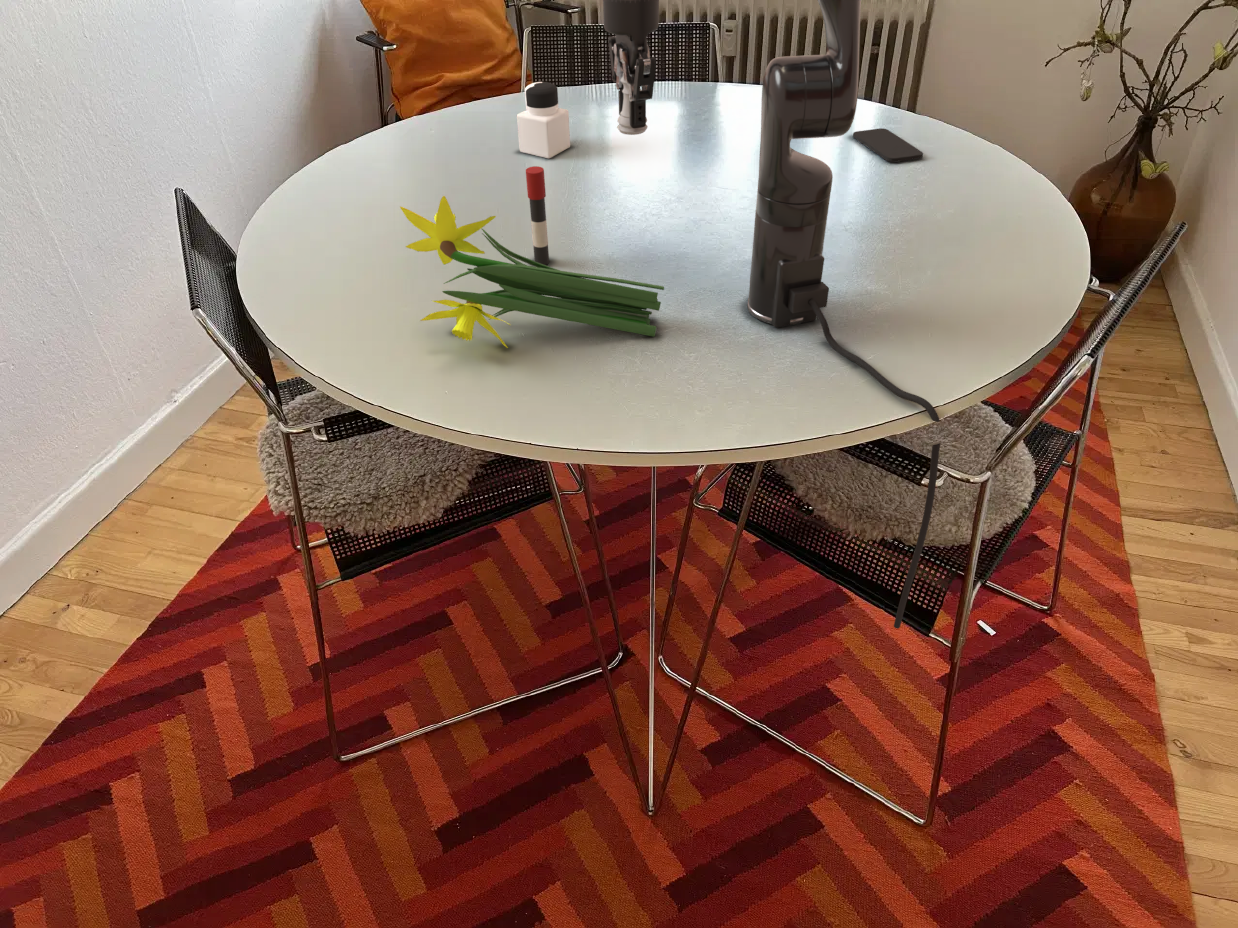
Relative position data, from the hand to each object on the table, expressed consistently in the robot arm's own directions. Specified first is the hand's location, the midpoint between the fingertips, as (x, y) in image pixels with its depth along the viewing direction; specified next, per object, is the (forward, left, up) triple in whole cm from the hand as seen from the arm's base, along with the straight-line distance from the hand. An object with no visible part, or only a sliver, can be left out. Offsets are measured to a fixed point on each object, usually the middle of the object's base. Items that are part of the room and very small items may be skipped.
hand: (632, 121), depth 132 cm
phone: (+21, -58, -19) cm, 64 cm away
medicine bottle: (+43, +3, -19) cm, 47 cm away
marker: (-2, +15, -19) cm, 24 cm away
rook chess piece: (0, 0, -1) cm, 1 cm away
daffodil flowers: (-21, +20, -19) cm, 34 cm away
